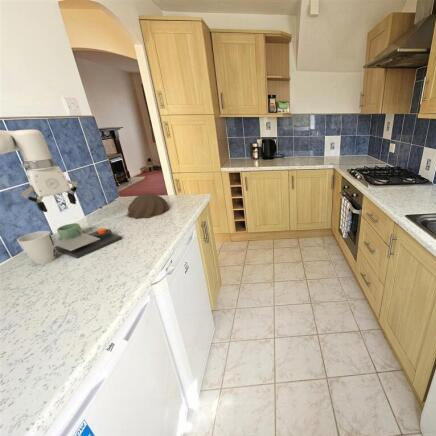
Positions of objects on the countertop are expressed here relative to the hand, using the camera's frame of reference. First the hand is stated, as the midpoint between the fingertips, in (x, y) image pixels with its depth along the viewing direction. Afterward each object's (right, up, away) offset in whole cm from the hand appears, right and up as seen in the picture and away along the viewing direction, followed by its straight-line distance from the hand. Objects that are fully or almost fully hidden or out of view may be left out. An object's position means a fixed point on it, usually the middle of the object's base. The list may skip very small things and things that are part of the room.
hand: (59, 207), depth 98 cm
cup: (+5, -20, -10) cm, 23 cm away
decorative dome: (+17, -1, +33) cm, 37 cm away
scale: (+12, -15, 0) cm, 19 cm away
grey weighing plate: (+10, -14, -4) cm, 18 cm away
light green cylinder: (0, -13, +6) cm, 14 cm away
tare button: (+14, -11, +4) cm, 18 cm away
